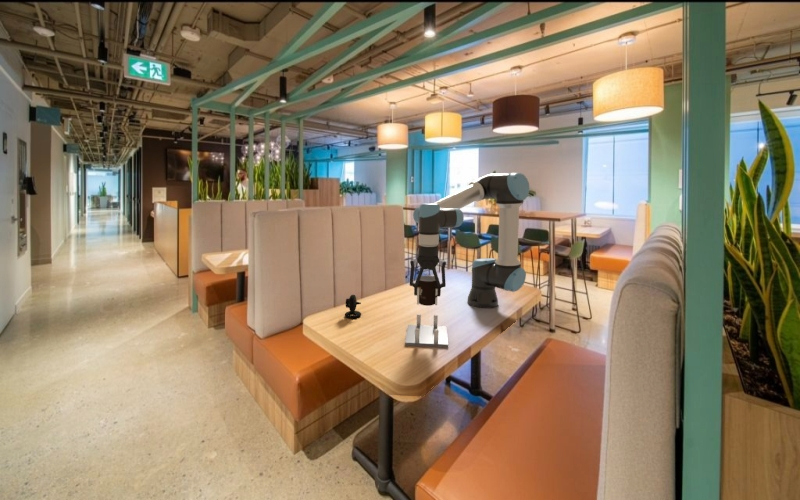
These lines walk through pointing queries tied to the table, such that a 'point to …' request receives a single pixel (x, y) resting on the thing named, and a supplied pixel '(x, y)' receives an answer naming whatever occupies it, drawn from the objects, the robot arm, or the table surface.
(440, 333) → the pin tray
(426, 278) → the coffee mug
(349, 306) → the webcam
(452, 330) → the table surface
